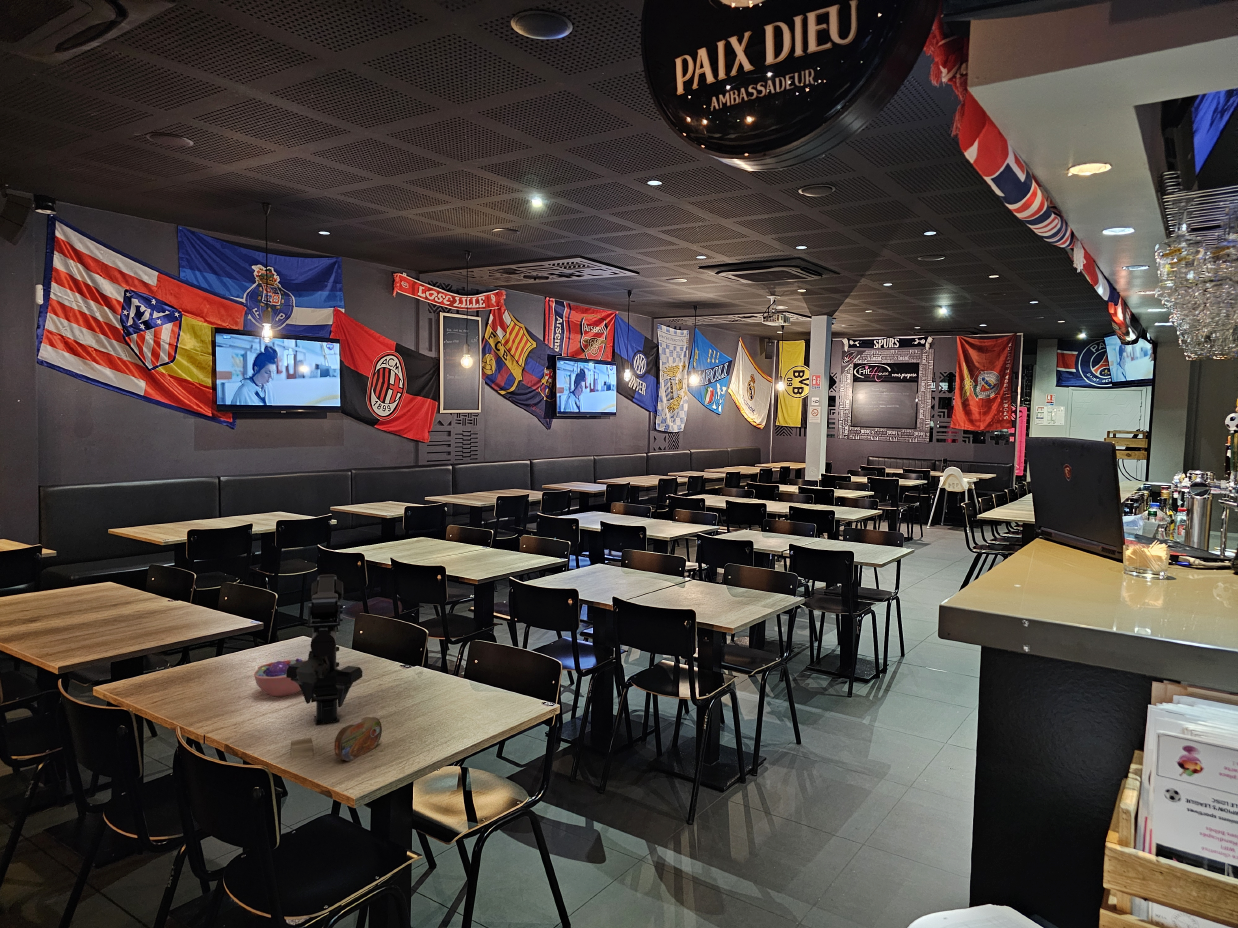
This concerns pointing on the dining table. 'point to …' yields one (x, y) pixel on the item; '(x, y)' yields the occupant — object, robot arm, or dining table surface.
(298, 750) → the oak block
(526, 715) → the dining table surface
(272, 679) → the cell model
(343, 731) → the tin
